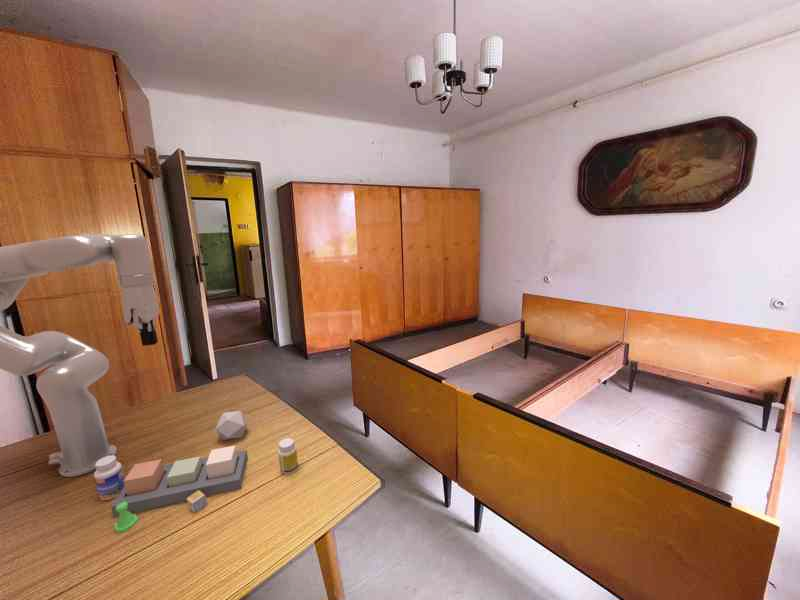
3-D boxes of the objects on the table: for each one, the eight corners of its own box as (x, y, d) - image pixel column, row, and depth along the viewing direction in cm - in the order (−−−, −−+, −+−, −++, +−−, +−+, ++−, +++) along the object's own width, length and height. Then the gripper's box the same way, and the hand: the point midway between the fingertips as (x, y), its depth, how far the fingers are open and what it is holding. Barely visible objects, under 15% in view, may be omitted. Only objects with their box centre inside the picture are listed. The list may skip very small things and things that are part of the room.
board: (113, 517, 79) (110, 506, 78) (136, 480, 90) (134, 471, 89) (240, 488, 86) (239, 479, 86) (247, 458, 97) (246, 449, 97)
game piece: (111, 535, 74) (105, 514, 72) (118, 520, 78) (112, 499, 76) (134, 528, 76) (129, 507, 74) (140, 513, 79) (135, 493, 78)
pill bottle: (96, 504, 82) (87, 471, 80) (103, 489, 87) (95, 457, 85) (124, 495, 85) (115, 463, 82) (129, 481, 89) (121, 450, 87)
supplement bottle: (301, 465, 94) (298, 439, 92) (289, 476, 90) (286, 450, 88) (288, 460, 96) (285, 435, 94) (276, 471, 92) (273, 445, 90)
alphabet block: (194, 513, 79) (192, 503, 78) (188, 508, 81) (186, 497, 80) (207, 504, 82) (205, 494, 81) (201, 499, 83) (199, 489, 83)
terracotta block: (127, 497, 81) (123, 481, 80) (138, 480, 87) (135, 464, 86) (155, 492, 83) (152, 475, 82) (165, 475, 89) (161, 459, 87)
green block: (170, 493, 84) (166, 477, 83) (178, 476, 90) (175, 461, 89) (196, 488, 86) (193, 471, 85) (203, 471, 91) (200, 456, 90)
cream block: (208, 480, 86) (205, 464, 85) (214, 465, 92) (211, 449, 91) (233, 475, 88) (231, 459, 87) (237, 460, 94) (235, 445, 92)
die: (232, 450, 102) (249, 419, 104) (205, 437, 101) (223, 407, 103) (240, 442, 111) (256, 414, 113) (215, 430, 110) (232, 402, 112)
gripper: (133, 277, 95) (146, 337, 99) (105, 286, 81) (121, 355, 85) (163, 275, 97) (174, 334, 101) (140, 284, 83) (154, 352, 87)
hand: (150, 344), depth 93 cm, fingers closed
